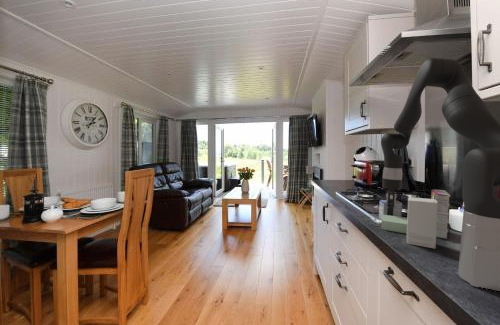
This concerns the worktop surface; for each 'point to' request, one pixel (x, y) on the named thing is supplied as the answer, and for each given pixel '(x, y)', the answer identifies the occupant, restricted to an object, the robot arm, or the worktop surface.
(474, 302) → the worktop surface
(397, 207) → the medicine box
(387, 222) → the sage block
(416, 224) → the skincare box
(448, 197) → the candy bar box
